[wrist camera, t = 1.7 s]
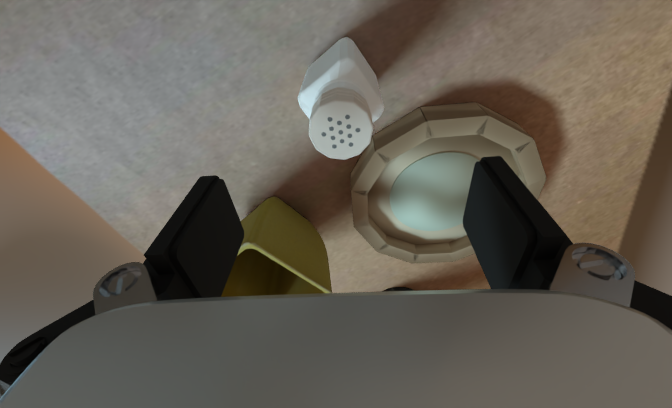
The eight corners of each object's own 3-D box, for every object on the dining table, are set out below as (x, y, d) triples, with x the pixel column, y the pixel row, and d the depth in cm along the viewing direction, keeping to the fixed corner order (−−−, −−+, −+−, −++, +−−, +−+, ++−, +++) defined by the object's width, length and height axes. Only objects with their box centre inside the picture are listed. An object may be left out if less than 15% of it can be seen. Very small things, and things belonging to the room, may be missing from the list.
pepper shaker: (303, 69, 22) (282, 125, 14) (347, 30, 20) (349, 71, 13) (337, 111, 23) (334, 179, 16) (379, 79, 22) (397, 139, 15)
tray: (345, 113, 24) (345, 127, 22) (555, 94, 22) (576, 108, 20) (356, 247, 34) (357, 266, 32) (501, 240, 32) (511, 258, 30)
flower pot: (272, 170, 27) (248, 242, 20) (336, 221, 31) (334, 296, 24) (220, 217, 31) (184, 291, 24) (283, 257, 35) (268, 330, 28)
